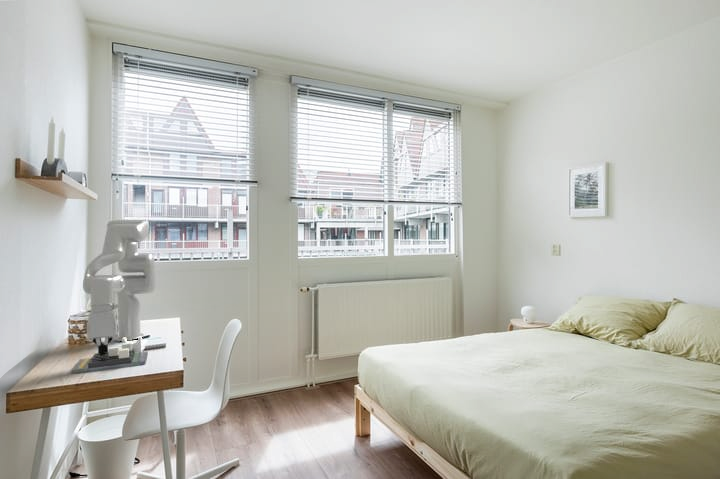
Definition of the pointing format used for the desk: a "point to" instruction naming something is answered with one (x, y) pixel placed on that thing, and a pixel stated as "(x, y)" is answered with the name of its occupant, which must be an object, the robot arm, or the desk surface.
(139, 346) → the bracket
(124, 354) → the breaker handle
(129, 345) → the block
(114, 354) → the handle
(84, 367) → the breaker panel
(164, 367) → the desk surface
